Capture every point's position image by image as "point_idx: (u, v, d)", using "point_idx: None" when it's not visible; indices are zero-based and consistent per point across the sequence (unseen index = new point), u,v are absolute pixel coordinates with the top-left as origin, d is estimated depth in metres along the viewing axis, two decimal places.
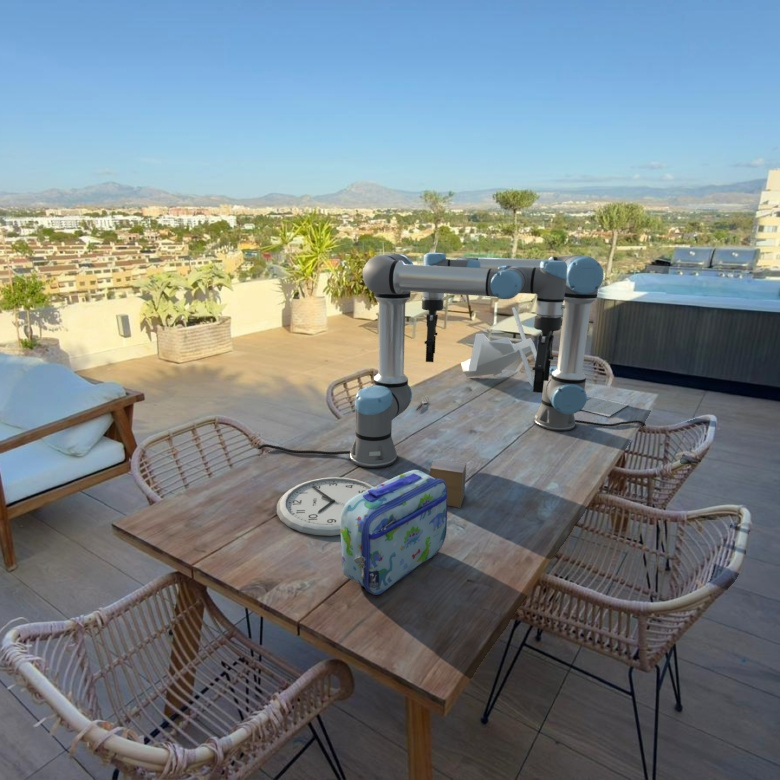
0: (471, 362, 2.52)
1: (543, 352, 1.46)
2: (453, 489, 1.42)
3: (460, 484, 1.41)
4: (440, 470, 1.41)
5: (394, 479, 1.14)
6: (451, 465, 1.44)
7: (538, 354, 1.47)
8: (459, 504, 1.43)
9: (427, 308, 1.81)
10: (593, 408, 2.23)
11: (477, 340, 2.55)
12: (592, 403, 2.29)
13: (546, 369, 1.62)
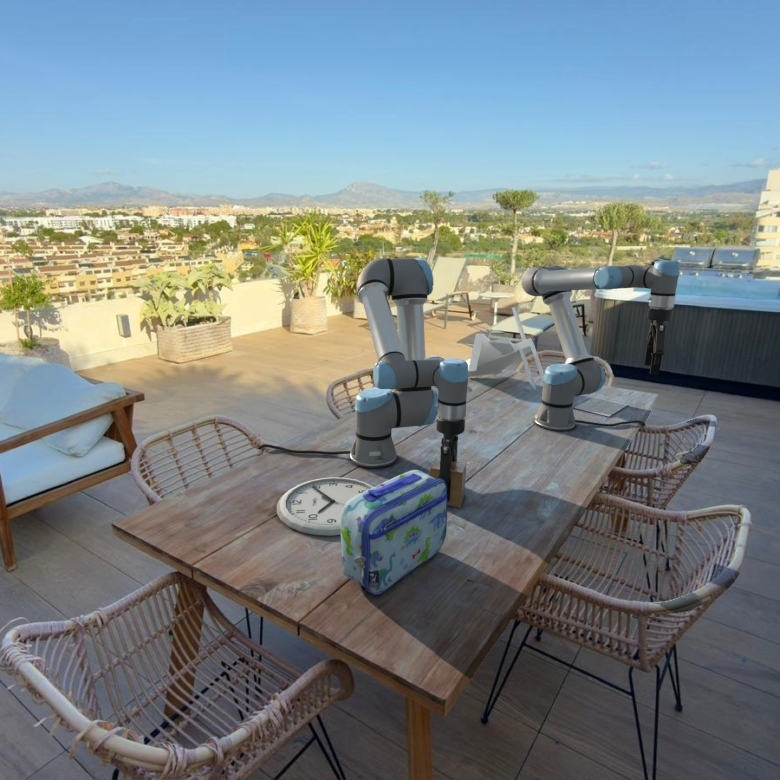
0: (471, 362, 2.52)
1: None
2: (453, 489, 1.42)
3: (460, 484, 1.41)
4: None
5: (394, 479, 1.14)
6: (451, 465, 1.44)
7: None
8: (459, 504, 1.43)
9: (655, 318, 1.73)
10: (593, 408, 2.23)
11: (477, 340, 2.55)
12: (592, 403, 2.29)
13: None
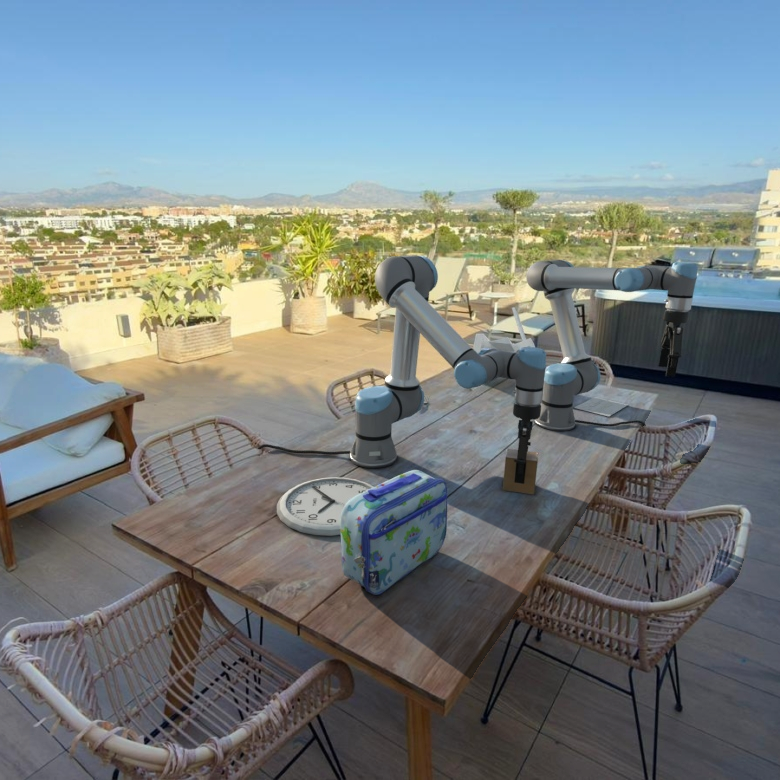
0: None
1: None
2: (527, 477, 1.50)
3: (534, 472, 1.49)
4: (516, 459, 1.49)
5: (394, 479, 1.14)
6: None
7: None
8: (533, 491, 1.50)
9: (672, 320, 1.73)
10: (593, 408, 2.23)
11: (477, 340, 2.55)
12: (592, 403, 2.29)
13: None
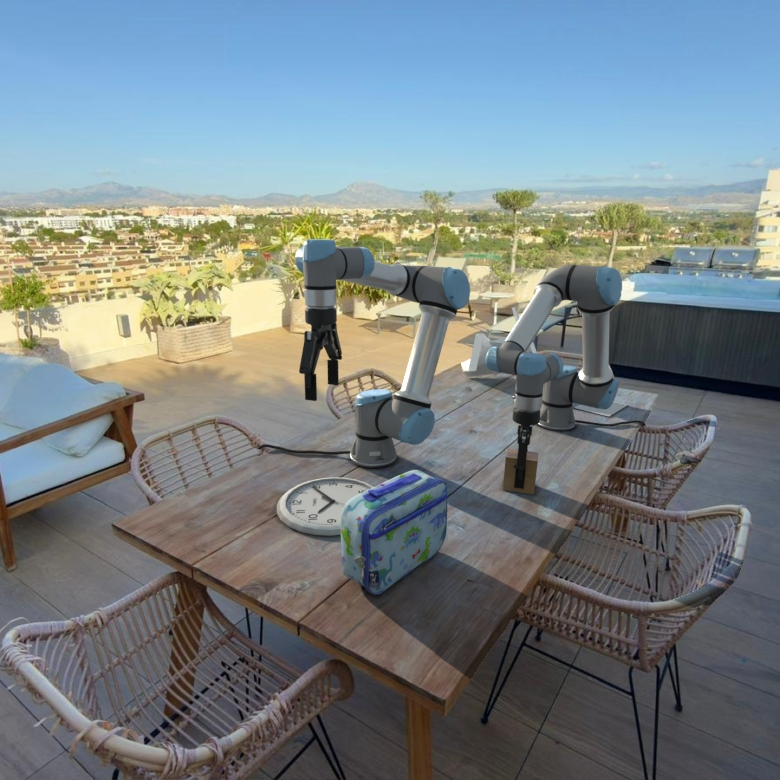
0: (471, 362, 2.52)
1: None
2: (527, 477, 1.50)
3: (535, 472, 1.49)
4: (516, 459, 1.49)
5: (394, 479, 1.14)
6: None
7: None
8: (533, 491, 1.50)
9: (519, 422, 1.45)
10: (593, 408, 2.23)
11: (477, 340, 2.55)
12: None
13: None
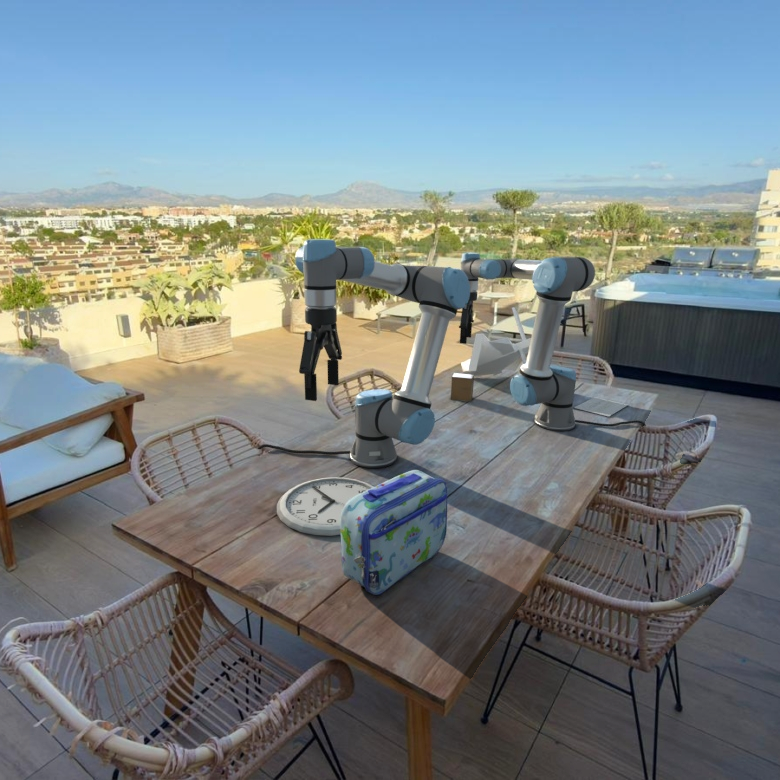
0: (471, 362, 2.52)
1: None
2: (466, 389, 2.29)
3: (470, 386, 2.28)
4: (458, 377, 2.29)
5: (394, 479, 1.14)
6: (464, 375, 2.31)
7: None
8: (470, 399, 2.30)
9: None
10: (593, 408, 2.23)
11: (477, 340, 2.55)
12: (592, 403, 2.29)
13: None
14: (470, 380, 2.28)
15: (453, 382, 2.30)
